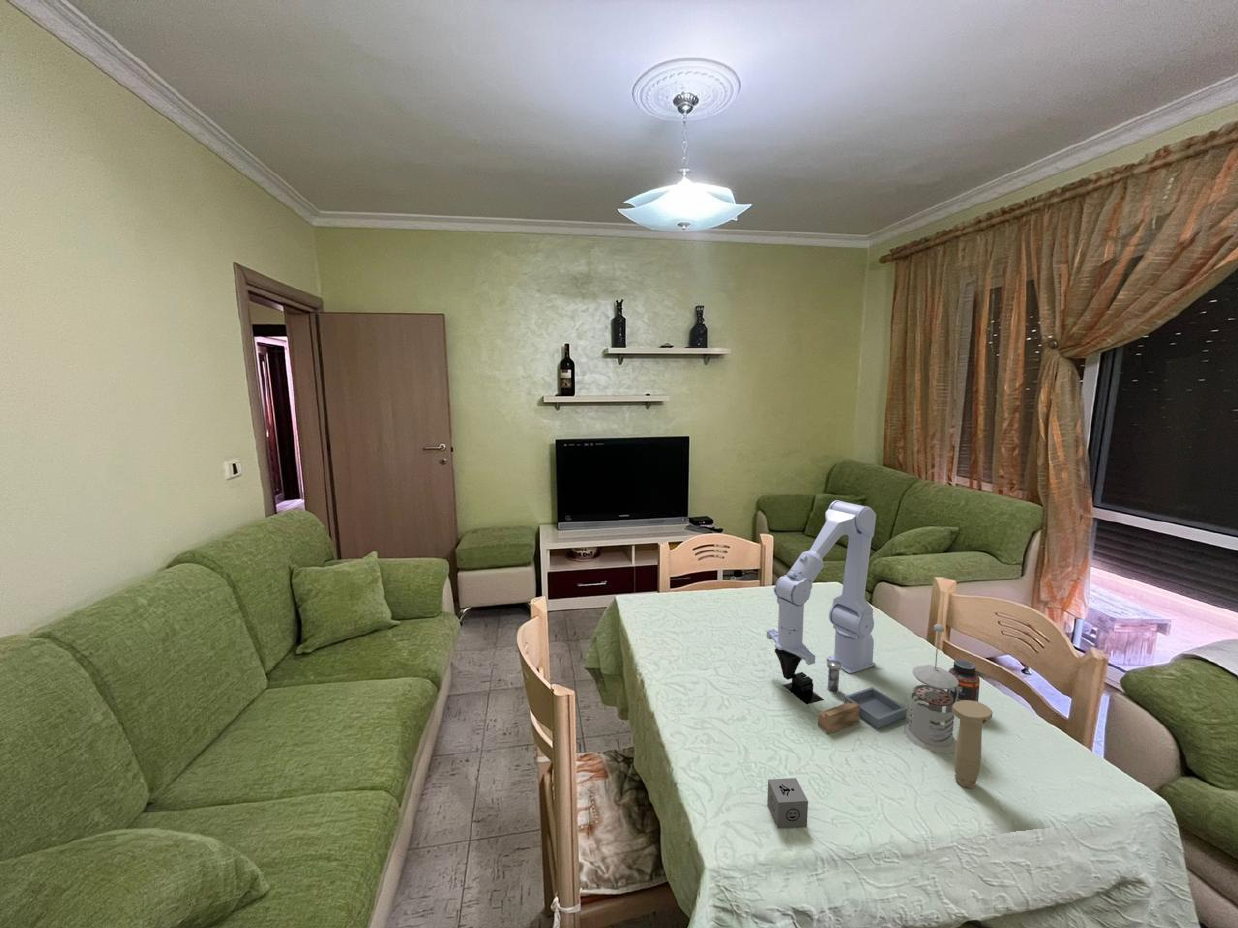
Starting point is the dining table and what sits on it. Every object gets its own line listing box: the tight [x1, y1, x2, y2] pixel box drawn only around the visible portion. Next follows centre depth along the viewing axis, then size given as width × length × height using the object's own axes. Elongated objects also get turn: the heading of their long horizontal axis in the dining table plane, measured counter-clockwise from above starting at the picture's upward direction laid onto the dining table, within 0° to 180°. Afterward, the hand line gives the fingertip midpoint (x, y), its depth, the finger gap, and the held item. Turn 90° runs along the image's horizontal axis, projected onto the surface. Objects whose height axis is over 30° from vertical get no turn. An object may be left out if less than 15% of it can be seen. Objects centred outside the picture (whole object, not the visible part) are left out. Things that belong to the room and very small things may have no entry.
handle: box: [952, 700, 994, 789], centre depth 92 cm, size 5×6×15 cm
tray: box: [843, 686, 908, 731], centre depth 113 cm, size 9×9×2 cm
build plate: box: [782, 671, 825, 706], centre depth 121 cm, size 12×7×5 cm, turn 22°
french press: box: [903, 623, 959, 754], centre depth 104 cm, size 10×12×25 cm
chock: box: [817, 702, 860, 735], centre depth 109 cm, size 9×3×4 cm, turn 114°
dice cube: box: [766, 777, 809, 830], centre depth 86 cm, size 5×5×5 cm
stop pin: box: [826, 660, 842, 693], centre depth 122 cm, size 3×3×7 cm
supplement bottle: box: [946, 658, 981, 703], centre depth 113 cm, size 6×6×11 cm
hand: (788, 677), depth 123 cm, fingers closed
